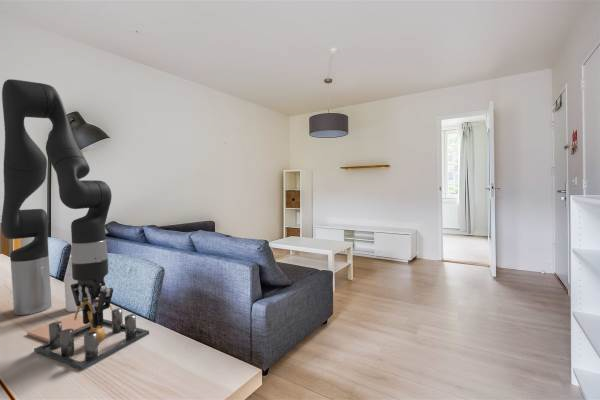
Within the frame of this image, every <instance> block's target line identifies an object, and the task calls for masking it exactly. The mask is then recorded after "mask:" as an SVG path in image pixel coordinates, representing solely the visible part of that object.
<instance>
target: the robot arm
mask: <svg viewBox="0 0 600 400" xmlns="http://www.w3.org/2000/svg"><path fill="white" fill-rule="evenodd" d="M1 103H2V111H3V112H2V113H3V124H4V153H3V187H4V188H3V189H4V190H3V191H4V192H3V194H4V195H3V202H2V203H3V206H2V214H1V223H0V227H1V232H2V236H3V237H4V238H6V239H8V240H17V239H18V240H19V239H29V238H34V239H33V240H32V241H31V242H30V243H27V244H25V245H24V246H21V247H19V248H16V249H14V250H12V251H11V252H10V255H9V257H10V258H9V259H10V270H11V271H10V272H11V285H12V289H11V290H12V302H13V314H14V315H17V316H26V315H31V314H36V313H40V312H42V311H44V310H45V311H46V310H47V309H50V308H51V307H52V288H51V270H50V258H49V255H50V254H49V220H48V214H47V212H46V210H44V209H43V208H32V209H31V208H29V209H21V206H22V205H23V204H24V202H25V201H26V200H27V199H28V198H29V197H30V196H31V195H32V194H34V193H35V192H36V191H37V190H38V189H39V188H41V186H42V185H43V184H44V183H45V180H46V178H47V168H48V160H49V163H50V164H51V166H52V168H53V170H54V171H55V173H56V178H57V179H56V180H57V184H58V193H59V194H58V195H59V198H60V199H59V200H60V201H61V203H62V204H63V205H64V206H65V207H67V208H69V209H73V210H80V209H81V210H82V209H88V210H87V212H86V214H85V215H84V216H81V217H78V218H76V219H74V220H72V222H71V224H70V230H71V231H70V232H71V233H70V234H71V250H70V252H71V253H70V255H71V260H72V278H73V279H74V280H77V281H78V283H75V284H72V285H71V289H72V293H73V296H74V300H75V303H76V306H77V307H78V306H80V305H81V304H83V303H84V302H85V301H87V300H88V302H89V304H91V307H92V312H93V313H92V321H93V326H94V327H97V326H99V325H102V326H103V325H104V324H103V319H104V311H105V310H107V309H109V308H110V307H109V306H110V305H111V301H112V298H113V294H114V289H113V288H114V287H109V288H108V287H106V282H105V279H104V278H105V277H106V276H107V275H108V274H109V256H108V245H107V244H108V243H107V239H106V238H107V237H106V222H107V218H108V214H109V210H110V206H111V203H112V191H111V187H110V185H108V184H107V183H106V182H105V181H103V180H89V179H88V180H81V179H83V178H85V177H86V176H88V175H89V173H90V171H91V170H90V165H89V163H88V161H87V159H86V157H85V156H84V154H83V152H82V150H81V149H80V147H79V146H78V143H77V141H76V139H75V136H74V133H73V130H72V127H71V124H70V121H69V118H68V115H67V112H66V110H65V106H64V104H63V101H62V98H61V96H60V94H59V92H58V91H57V90H56V88H55V87H54V86H53V85H50V84H47V83H43V82H42V83H41V82H35V81H27V80H20V79H13V78H12V79H6V80H5V81H4V83H3V85H2V91H1ZM25 118H34V119H35V118H37V119H49V121H50V122H51V124H52V127H51V130H50V134H49V136H48V137H47V141H46V143H45V152H46V155H45V153H44V152H43V150H42V149H41V147H39V146H38V144H37V143H36V142H35V141H34V140H33V139H32V137H31V135H29V133H28V131H27V130H26V127H25ZM46 156H47V157H46ZM47 158H48V160H47ZM94 298H98V299H95V300H93V299H94ZM97 302H98V305H97V307H96V303H97ZM80 309H81V311H82V316H83V323H84V324H88V323H89V321H90V320H89V318H88V314H87V312H88V311H90V308H89V306H88V304H86V305H84V306H82V307H80Z"/></svg>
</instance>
